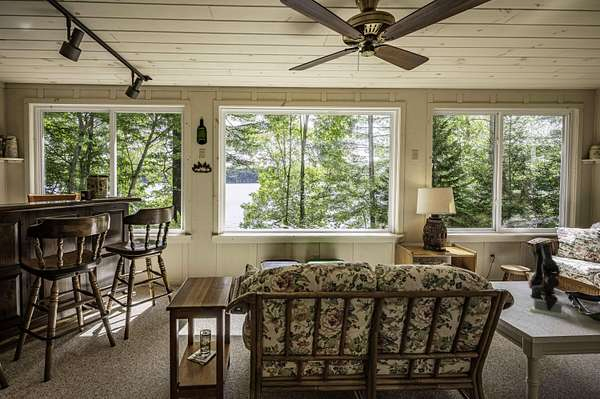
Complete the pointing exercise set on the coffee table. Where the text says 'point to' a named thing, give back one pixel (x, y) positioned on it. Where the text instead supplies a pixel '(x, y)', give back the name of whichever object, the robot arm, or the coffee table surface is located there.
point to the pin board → (547, 312)
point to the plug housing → (543, 306)
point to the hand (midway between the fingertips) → (547, 307)
